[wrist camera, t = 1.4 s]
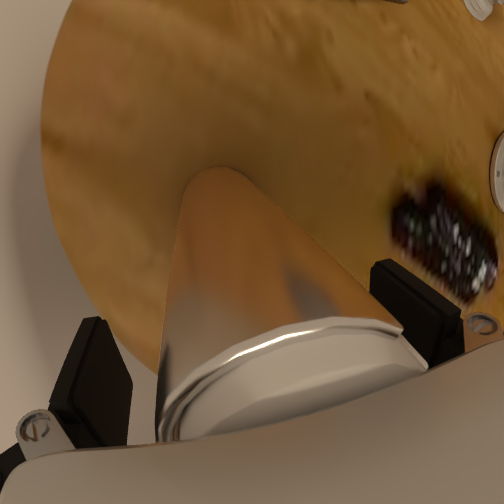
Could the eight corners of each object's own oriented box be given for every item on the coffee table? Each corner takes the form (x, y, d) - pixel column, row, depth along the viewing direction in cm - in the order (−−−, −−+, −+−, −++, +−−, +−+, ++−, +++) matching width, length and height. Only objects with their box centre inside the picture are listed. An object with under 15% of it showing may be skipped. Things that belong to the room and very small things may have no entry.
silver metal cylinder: (173, 176, 27) (82, 416, 4) (246, 158, 27) (483, 296, 4) (192, 245, 29) (212, 539, 6) (261, 227, 30) (423, 472, 7)
